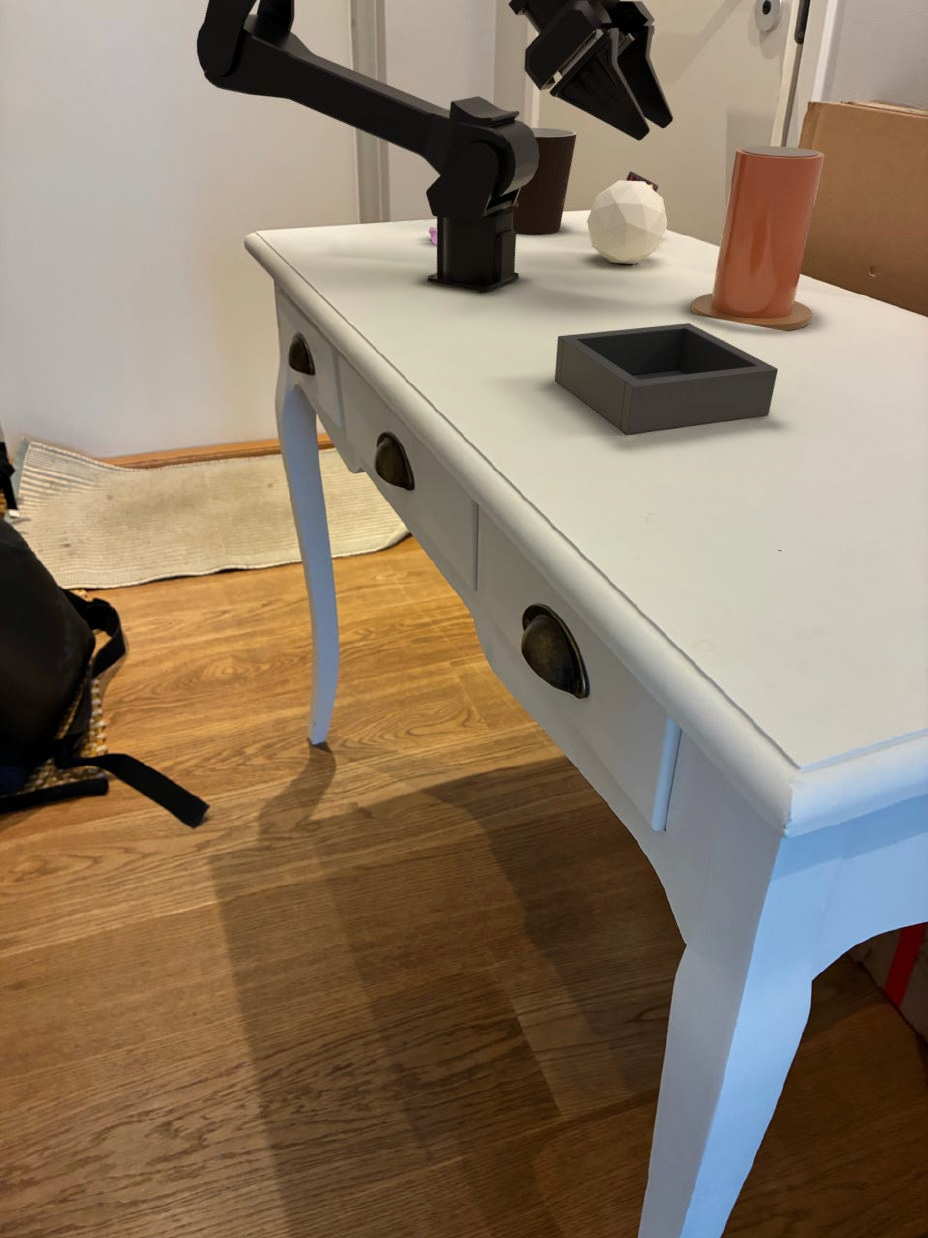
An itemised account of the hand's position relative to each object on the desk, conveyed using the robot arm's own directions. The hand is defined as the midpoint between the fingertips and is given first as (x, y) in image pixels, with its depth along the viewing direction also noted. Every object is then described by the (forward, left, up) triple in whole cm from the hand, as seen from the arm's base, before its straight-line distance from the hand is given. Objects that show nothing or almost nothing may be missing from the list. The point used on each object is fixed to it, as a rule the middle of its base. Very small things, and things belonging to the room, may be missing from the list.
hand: (657, 129), depth 76 cm
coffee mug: (-23, +23, -14) cm, 36 cm away
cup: (+10, +2, -13) cm, 16 cm away
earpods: (-27, +9, -14) cm, 32 cm away
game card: (-10, +23, -14) cm, 29 cm away
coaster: (+10, +2, -14) cm, 17 cm away
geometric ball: (-7, +13, -14) cm, 20 cm away
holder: (+12, -23, -14) cm, 29 cm away
